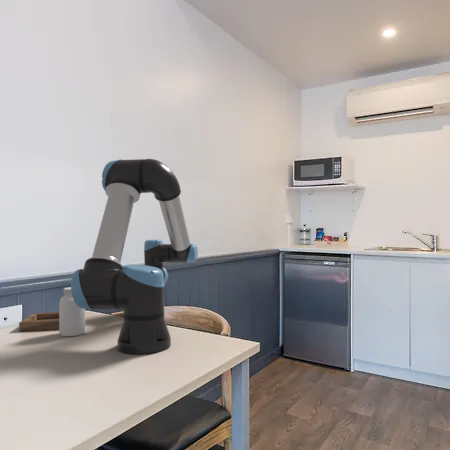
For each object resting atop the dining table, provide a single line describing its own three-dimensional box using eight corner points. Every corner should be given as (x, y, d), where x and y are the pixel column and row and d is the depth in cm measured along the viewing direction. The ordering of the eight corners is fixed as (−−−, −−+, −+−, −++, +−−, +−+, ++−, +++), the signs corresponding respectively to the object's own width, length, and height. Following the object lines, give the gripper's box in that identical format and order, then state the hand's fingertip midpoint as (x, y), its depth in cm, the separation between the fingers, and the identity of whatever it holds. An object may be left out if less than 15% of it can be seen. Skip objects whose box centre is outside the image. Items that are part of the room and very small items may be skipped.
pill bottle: (80, 337, 128) (79, 289, 128) (55, 337, 129) (54, 290, 129) (88, 330, 136) (88, 286, 136) (65, 330, 136) (64, 286, 137)
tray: (66, 329, 138) (65, 320, 138) (19, 331, 136) (19, 322, 136) (75, 319, 153) (75, 311, 153) (33, 321, 151) (33, 313, 151)
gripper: (162, 292, 154) (122, 302, 135) (115, 287, 166) (72, 296, 148) (162, 272, 153) (121, 280, 135) (114, 269, 166) (71, 276, 148)
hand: (95, 289), depth 141 cm, fingers open, 13 cm apart
